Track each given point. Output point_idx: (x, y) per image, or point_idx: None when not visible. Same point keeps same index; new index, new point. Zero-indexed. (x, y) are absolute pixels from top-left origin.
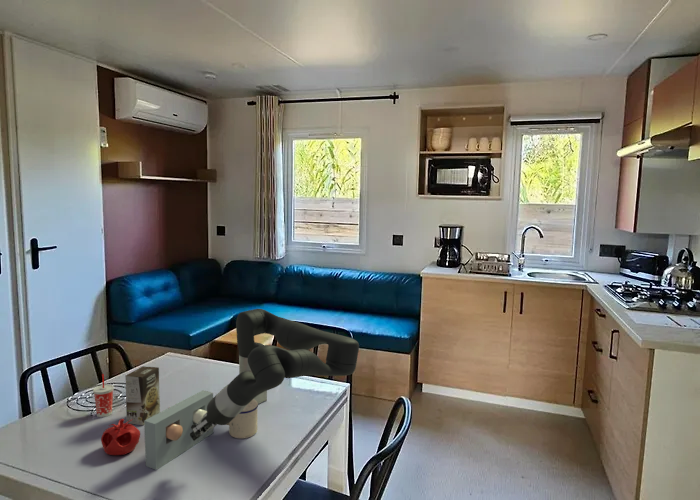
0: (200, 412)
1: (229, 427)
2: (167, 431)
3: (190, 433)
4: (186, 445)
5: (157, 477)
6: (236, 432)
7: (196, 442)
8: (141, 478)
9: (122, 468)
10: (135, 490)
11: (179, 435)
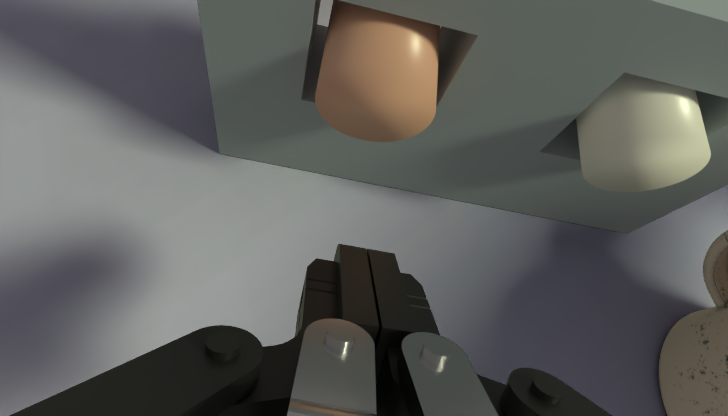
0: (662, 127)
1: (703, 325)
2: (333, 37)
3: (340, 246)
4: (442, 182)
5: (156, 197)
6: (695, 403)
7: (507, 206)
8: (130, 126)
9: (192, 8)
10: (12, 158)
11: (389, 131)
